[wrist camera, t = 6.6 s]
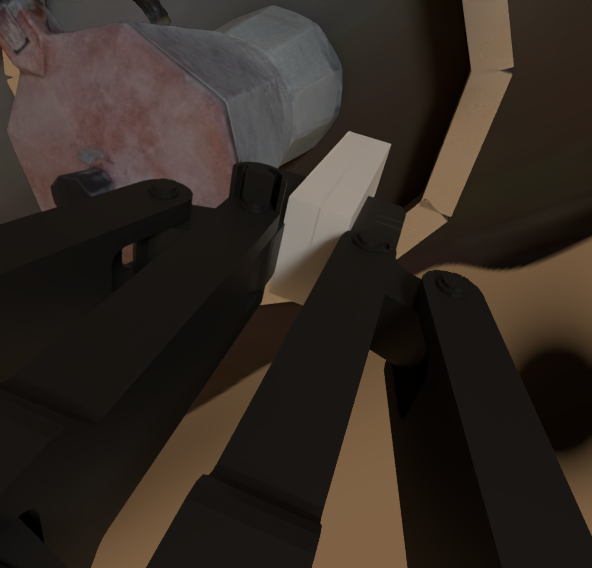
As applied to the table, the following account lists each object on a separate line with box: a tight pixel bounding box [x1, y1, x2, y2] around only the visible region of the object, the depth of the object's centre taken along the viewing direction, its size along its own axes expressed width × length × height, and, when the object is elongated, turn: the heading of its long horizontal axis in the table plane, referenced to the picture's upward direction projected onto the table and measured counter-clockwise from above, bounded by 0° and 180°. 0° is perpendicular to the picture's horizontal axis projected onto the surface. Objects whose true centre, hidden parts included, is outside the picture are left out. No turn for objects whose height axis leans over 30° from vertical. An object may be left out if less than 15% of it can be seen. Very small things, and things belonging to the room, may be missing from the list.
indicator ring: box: [2, 0, 514, 305], centre depth 29 cm, size 32×39×5 cm
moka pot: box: [0, 0, 343, 264], centre depth 22 cm, size 10×15×20 cm, turn 35°
